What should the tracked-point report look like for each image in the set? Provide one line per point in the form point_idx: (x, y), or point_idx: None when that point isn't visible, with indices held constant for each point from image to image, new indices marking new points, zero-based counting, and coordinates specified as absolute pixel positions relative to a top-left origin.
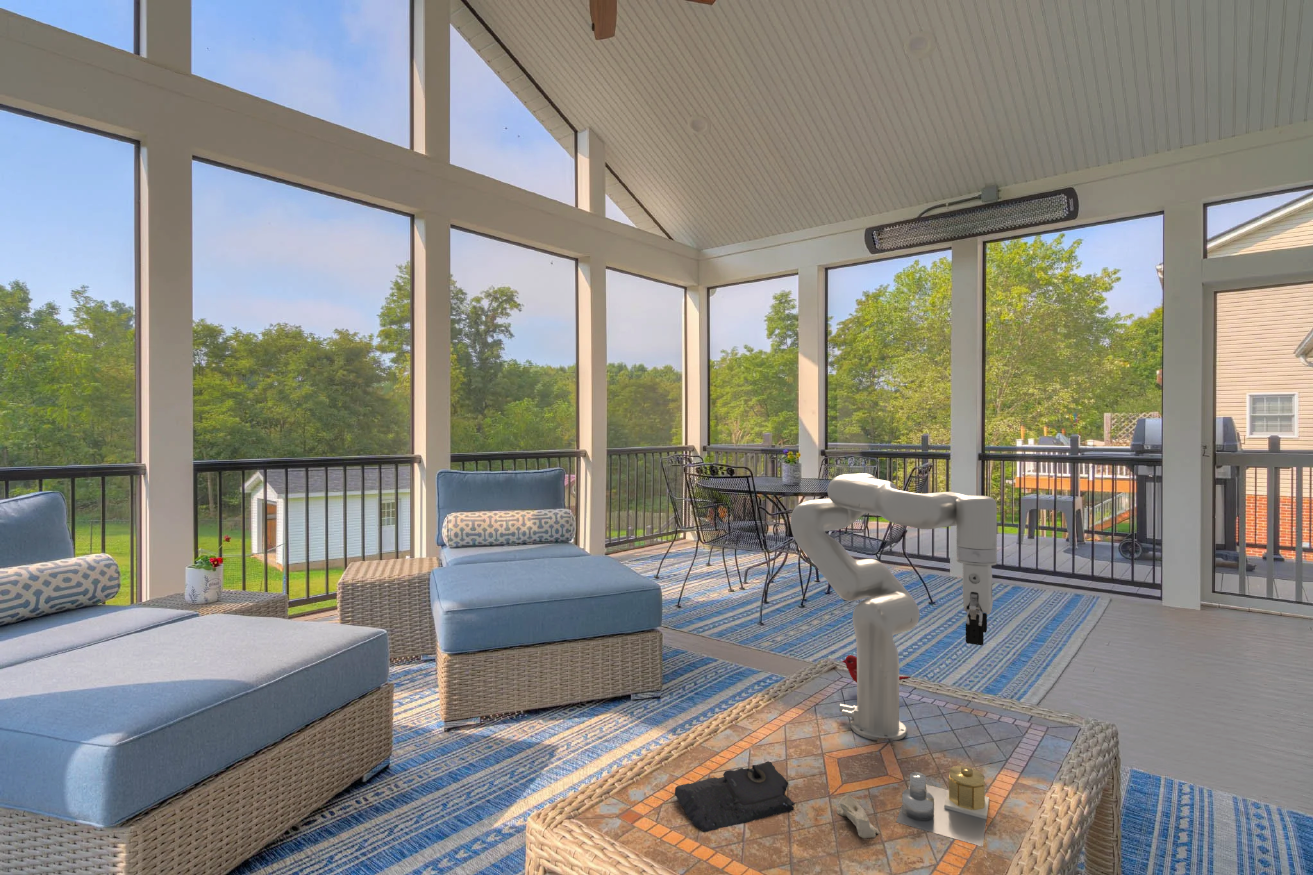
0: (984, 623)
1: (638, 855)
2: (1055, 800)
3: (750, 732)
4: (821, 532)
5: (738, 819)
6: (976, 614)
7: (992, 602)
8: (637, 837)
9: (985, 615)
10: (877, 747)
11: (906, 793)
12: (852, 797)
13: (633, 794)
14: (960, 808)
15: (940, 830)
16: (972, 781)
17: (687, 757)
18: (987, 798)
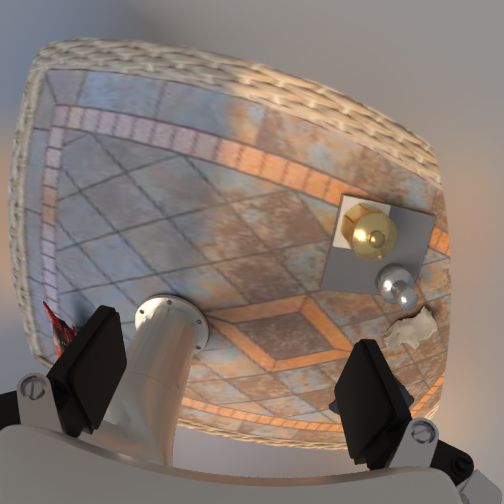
0: (99, 346)
1: (432, 409)
2: (293, 101)
3: (249, 422)
4: None
5: (404, 391)
6: (477, 475)
7: (43, 462)
8: (417, 417)
9: (74, 377)
10: (226, 325)
11: (394, 300)
12: (389, 341)
13: None
14: None
15: (417, 256)
16: (394, 232)
17: (315, 438)
18: (348, 198)
